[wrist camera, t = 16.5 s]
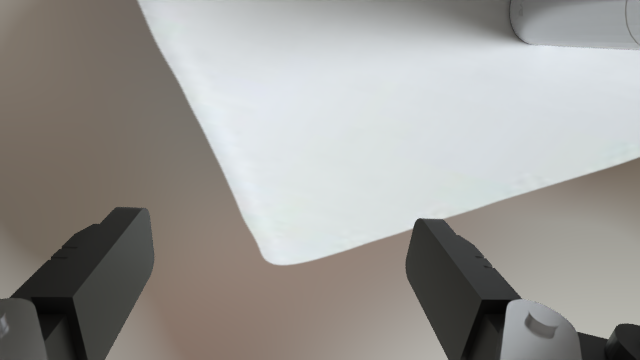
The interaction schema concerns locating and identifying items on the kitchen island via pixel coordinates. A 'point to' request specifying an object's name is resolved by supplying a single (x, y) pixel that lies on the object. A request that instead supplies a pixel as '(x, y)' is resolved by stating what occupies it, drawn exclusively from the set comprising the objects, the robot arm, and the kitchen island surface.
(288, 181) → the kitchen island surface
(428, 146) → the kitchen island surface
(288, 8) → the kitchen island surface
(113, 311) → the robot arm
